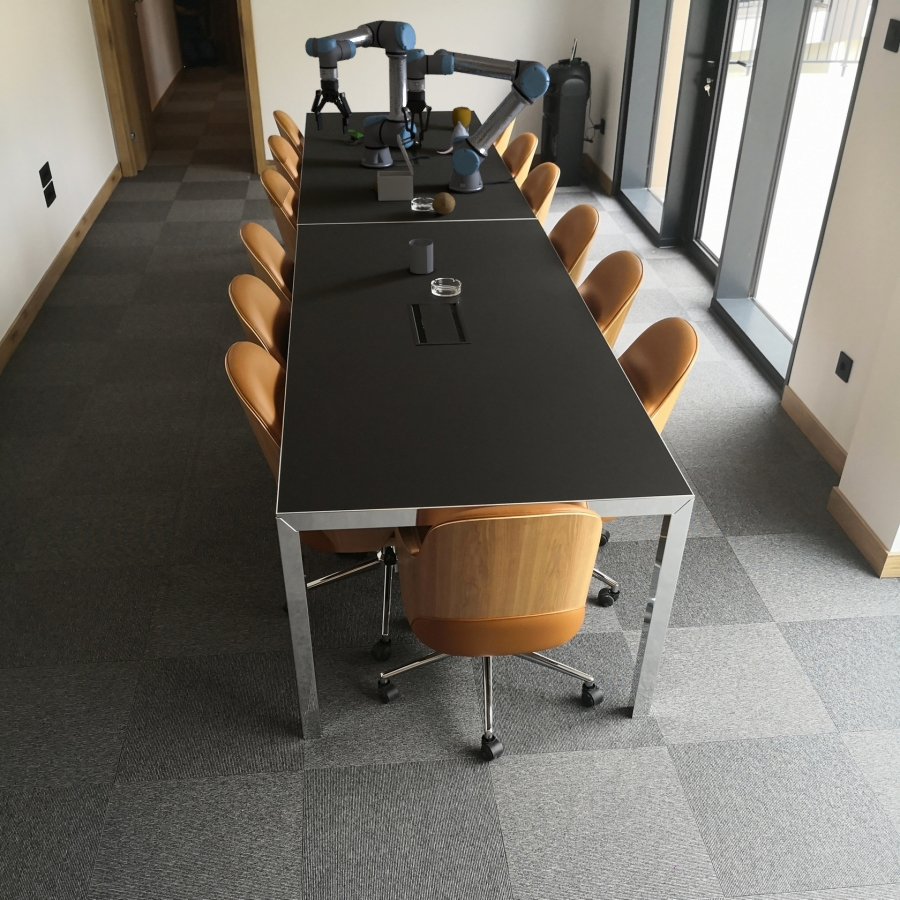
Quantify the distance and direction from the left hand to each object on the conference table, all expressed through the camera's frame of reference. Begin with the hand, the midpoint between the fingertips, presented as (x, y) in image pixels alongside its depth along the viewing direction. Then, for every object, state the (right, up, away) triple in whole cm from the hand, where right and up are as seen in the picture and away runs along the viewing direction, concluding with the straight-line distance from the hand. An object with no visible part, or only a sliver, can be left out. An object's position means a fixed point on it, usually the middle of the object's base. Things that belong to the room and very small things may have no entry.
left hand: (332, 131), depth 374 cm
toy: (+52, +14, +71) cm, 89 cm away
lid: (+31, -10, -1) cm, 33 cm away
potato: (+48, -38, -11) cm, 62 cm away
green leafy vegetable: (+7, +28, +92) cm, 97 cm away
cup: (+40, -73, -66) cm, 106 cm away
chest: (+27, -26, +9) cm, 38 cm away
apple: (+57, +44, +117) cm, 137 cm away
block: (+19, -20, +18) cm, 33 cm away
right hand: (+37, -8, -2) cm, 37 cm away
